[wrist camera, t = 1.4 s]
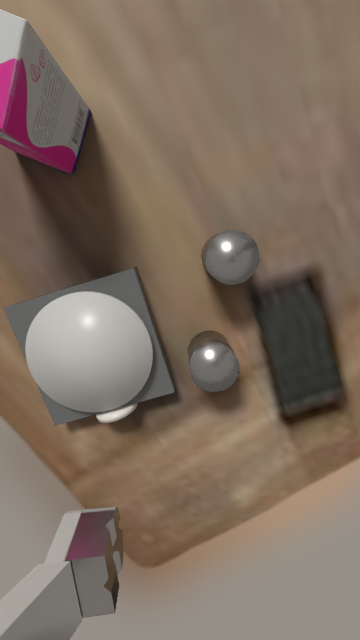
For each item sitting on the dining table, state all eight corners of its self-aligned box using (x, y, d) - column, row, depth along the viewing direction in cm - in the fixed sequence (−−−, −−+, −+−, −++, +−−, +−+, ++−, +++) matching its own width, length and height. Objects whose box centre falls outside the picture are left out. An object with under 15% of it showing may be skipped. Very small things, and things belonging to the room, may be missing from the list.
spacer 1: (240, 227, 30) (252, 223, 25) (251, 271, 31) (264, 276, 26) (196, 240, 30) (199, 239, 25) (208, 284, 31) (213, 291, 26)
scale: (137, 266, 32) (131, 269, 27) (177, 385, 35) (176, 405, 30) (18, 302, 32) (-6, 311, 28) (67, 416, 35) (52, 440, 31)
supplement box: (26, 83, 27) (-80, -32, 16) (92, 110, 27) (34, 18, 16) (10, 151, 28) (-99, 90, 17) (73, 177, 29) (8, 133, 18)
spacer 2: (223, 325, 32) (232, 340, 27) (234, 364, 33) (244, 384, 28) (183, 337, 32) (183, 353, 28) (194, 375, 33) (197, 397, 29)
